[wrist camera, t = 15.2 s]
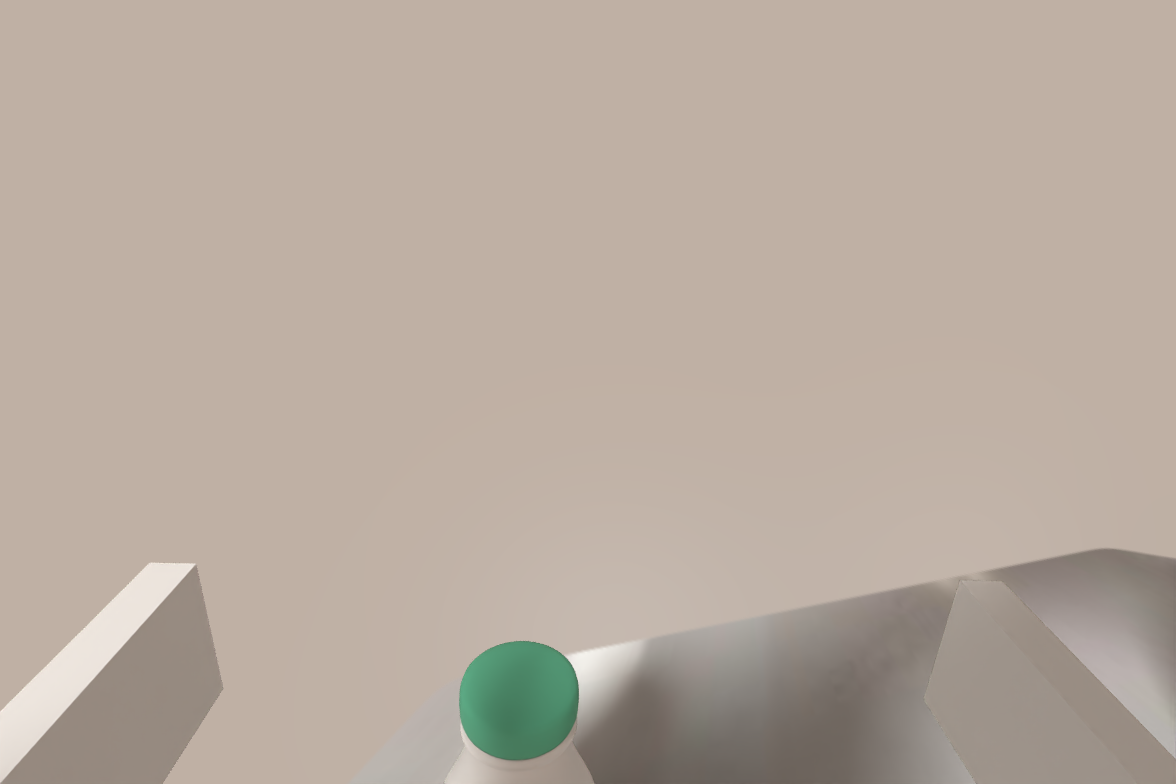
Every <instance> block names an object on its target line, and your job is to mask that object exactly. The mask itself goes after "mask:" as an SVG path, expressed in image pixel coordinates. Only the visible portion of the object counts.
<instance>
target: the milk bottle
mask: <svg viewBox="0 0 1176 784" xmlns="http://www.w3.org/2000/svg"><path fill="white" fill-rule="evenodd" d="M578 702H579V687H578V680H577V677H576V673H575V671H574V668H573V667H572V665H571V663H570V662H569V661H568V659H567V658H566V657H565V656H563V655H562V654H561V653H560V652H558V651H557V650H555V649H553V648H551V647H549V646H547V645H544V644H540V643H536V642H529V641H516V642H508V643H504V644H500V645H497V646H495V647H492V648H490V649H488V650H487V651H485V652H483V653H482V654H481V655H479V656H478V657H477V658H476V659H475V660H474V661H473V662H472V663H471V664H470V665H469V667H468V668H467V670H466V672H465V674H464V676H463V679H462V682H461V686H460V699H459V707H460V718H461V721H460V730H461V736H462V739H463V742H464V744H465V746H464V748H463V750H462V752H461V754H460V756H459V757H458V759H457V760H456V762H455V763H454V765H453V767H452V768H451V770H450V772H449V774H448V775H447V777H446V779H445V781H444V783H443V784H595V783H594V781H593V778H592V776H591V773H590V772H589V770H588V768H587V766H586V764H585V762H584V761H583V759H582V758H581V756H580V754H579V753H578V751H577V750H576V748H575V746H574V744H573V741H572V740H573V738H574V735H575V732H576V728H577V711H578Z"/></svg>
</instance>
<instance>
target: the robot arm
mask: <svg viewBox="0 0 1176 784" xmlns="http://www.w3.org/2000/svg"><path fill="white" fill-rule="evenodd" d="M222 690H223V685H222V680H221V676H220V671H219V666H218V663H217V657H216V653H215V648H214V644H213V639H212V634H211V630H210V625H209V621H208V616H207V611H206V607H205V602H204V597H203V593H202V588H201V584H200V579H199V574H198V570H197V565H196V564H180V563H175V564H174V563H149V564H148V565H147V566H146V567H145V568H144V569H143V570H142V571H141V572H140V573H139V574H138V575H137V576H136V577H135V578H134V579H133V580H132V581H131V582H130V583H129V584H128V585H127V586H126V587H125V588H124V589H123V590H122V591H121V592H120V593H119V594H118V595H117V596H116V597H115V598H114V599H113V600H112V601H111V602H110V603H109V604H108V605H107V606H106V607H105V608H104V609H103V610H102V611H101V612H100V613H99V614H98V615H97V616H96V617H95V618H94V619H93V620H92V621H91V622H90V623H89V624H88V625H87V626H86V627H85V628H84V629H83V630H82V631H81V632H80V633H79V634H78V635H77V636H76V637H75V638H74V639H73V640H72V641H71V642H70V643H69V644H68V645H67V646H66V647H65V648H64V649H63V650H62V651H61V652H60V653H59V654H58V655H57V656H56V657H55V658H54V659H53V660H52V661H51V662H50V663H49V664H48V665H47V666H46V667H45V668H44V669H43V670H42V671H41V672H40V673H39V674H38V675H37V676H35V678H33V680H31V681H30V682H29V683H28V684H27V685H26V686H25V687H24V688H23V690H21V691H20V692H19V693H18V694H17V696H15V697H14V698H13V699H12V700H11V701H10V702H9V703H8V704H7V705H6V706H5V707H4V708H3V709H2V710H1V711H0V784H163V782H164V781H165V779H166V777H167V776H168V774H169V773H170V771H171V770H172V768H173V767H174V765H175V763H176V762H177V760H178V759H179V757H180V756H181V754H182V752H183V751H184V749H185V748H186V746H187V745H188V743H189V741H190V740H191V738H192V737H193V735H194V734H195V732H196V731H197V729H198V728H199V726H200V724H201V723H202V721H203V720H204V718H205V716H206V715H207V713H208V712H209V710H210V708H211V707H212V706H213V704H214V702H215V701H216V699H217V698H218V696H219V695H220V693H221V691H222ZM924 701H925V702H926V704H927V706H928V707H929V709H930V710H931V712H932V714H933V715H934V717H935V719H936V720H937V722H938V723H939V725H940V727H941V728H942V730H943V731H944V733H945V735H946V736H947V738H948V739H949V741H950V743H951V744H952V746H953V747H954V749H955V751H956V752H957V754H958V755H959V757H960V759H961V760H962V762H963V763H964V765H965V767H966V768H967V770H968V771H969V773H970V775H971V776H972V778H973V779H974V781H975V783H976V784H1176V759H1175V758H1174V757H1173V756H1172V755H1171V754H1170V753H1169V752H1168V751H1167V750H1166V749H1165V748H1164V747H1163V746H1162V745H1161V744H1160V743H1159V742H1158V741H1157V740H1156V738H1155V737H1154V736H1153V735H1152V734H1151V733H1150V732H1149V731H1148V730H1147V729H1146V728H1145V727H1144V726H1143V725H1142V724H1141V723H1140V722H1139V721H1138V720H1137V719H1136V718H1135V717H1134V716H1133V715H1132V714H1131V713H1130V712H1129V711H1128V710H1127V709H1126V708H1125V707H1124V706H1123V705H1122V704H1121V702H1120V701H1119V700H1118V699H1117V698H1116V697H1115V696H1114V695H1113V694H1112V693H1111V692H1110V691H1109V690H1108V689H1107V688H1106V687H1105V686H1104V685H1103V684H1102V683H1101V682H1100V681H1099V680H1098V679H1097V678H1096V677H1095V676H1094V675H1093V674H1092V673H1091V672H1090V671H1089V670H1088V669H1087V668H1086V666H1085V665H1084V664H1083V663H1082V662H1081V661H1080V660H1079V659H1078V658H1077V657H1076V656H1075V655H1074V654H1073V653H1072V652H1071V651H1070V650H1069V649H1068V648H1067V647H1066V646H1065V645H1064V644H1063V643H1062V642H1061V641H1060V640H1059V639H1058V638H1057V637H1056V636H1055V635H1054V634H1053V633H1052V631H1051V630H1050V629H1049V628H1048V627H1047V626H1046V625H1045V624H1044V623H1043V622H1042V621H1041V620H1040V619H1039V618H1038V617H1037V616H1036V615H1035V614H1034V613H1033V612H1032V611H1031V610H1030V609H1029V608H1028V607H1027V606H1026V605H1025V604H1024V603H1023V602H1022V601H1021V600H1020V599H1019V598H1018V597H1017V595H1016V594H1015V593H1014V592H1013V591H1012V590H1011V589H1010V588H1009V587H1008V586H1007V585H1006V584H1005V583H1004V582H1003V581H976V580H960V581H959V584H958V588H957V591H956V594H955V597H954V601H953V604H952V607H951V611H950V614H949V617H948V620H947V624H946V627H945V630H944V633H943V637H942V640H941V643H940V647H939V650H938V653H937V656H936V660H935V663H934V666H933V670H932V673H931V676H930V679H929V683H928V686H927V689H926V693H925V696H924Z"/></svg>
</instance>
